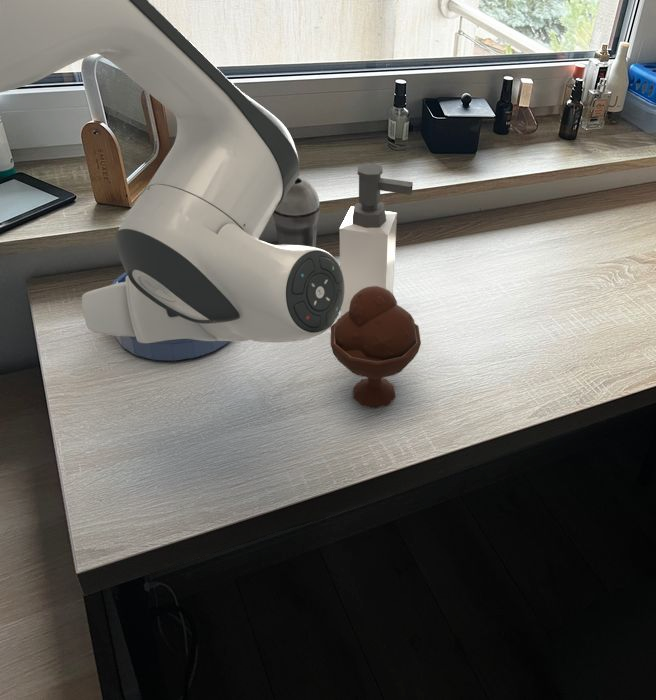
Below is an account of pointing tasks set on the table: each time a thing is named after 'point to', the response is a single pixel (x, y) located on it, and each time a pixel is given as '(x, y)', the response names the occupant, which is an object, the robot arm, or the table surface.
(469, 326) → the table surface
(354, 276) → the soap dispenser
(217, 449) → the table surface
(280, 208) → the beverage cup
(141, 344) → the mixing bowl
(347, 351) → the ice cream bowl
